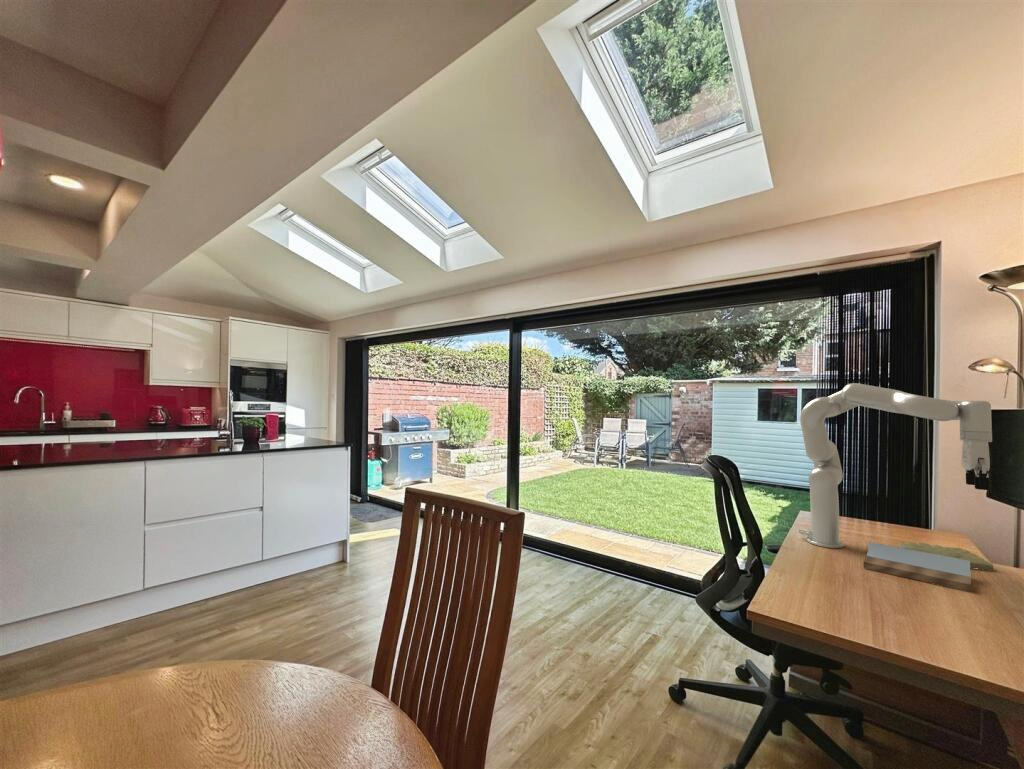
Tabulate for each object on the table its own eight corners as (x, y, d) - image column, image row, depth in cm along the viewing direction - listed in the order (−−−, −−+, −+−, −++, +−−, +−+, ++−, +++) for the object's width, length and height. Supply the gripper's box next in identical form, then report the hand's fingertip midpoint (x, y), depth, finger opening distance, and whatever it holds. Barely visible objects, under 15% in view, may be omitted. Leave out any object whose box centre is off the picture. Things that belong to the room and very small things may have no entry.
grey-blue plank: (867, 560, 159) (866, 555, 159) (869, 546, 164) (869, 541, 164) (970, 582, 141) (970, 577, 140) (969, 565, 146) (969, 560, 145)
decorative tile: (994, 573, 151) (994, 562, 151) (922, 565, 158) (921, 555, 158) (960, 554, 169) (960, 545, 169) (896, 548, 175) (896, 539, 175)
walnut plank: (863, 568, 153) (863, 561, 153) (866, 562, 158) (866, 556, 158) (971, 592, 134) (971, 584, 134) (970, 584, 140) (970, 577, 140)
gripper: (953, 434, 158) (954, 482, 158) (967, 437, 144) (969, 490, 143) (983, 435, 154) (984, 484, 154) (1001, 439, 140) (1002, 492, 139)
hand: (977, 487), depth 148 cm, fingers open, 9 cm apart
